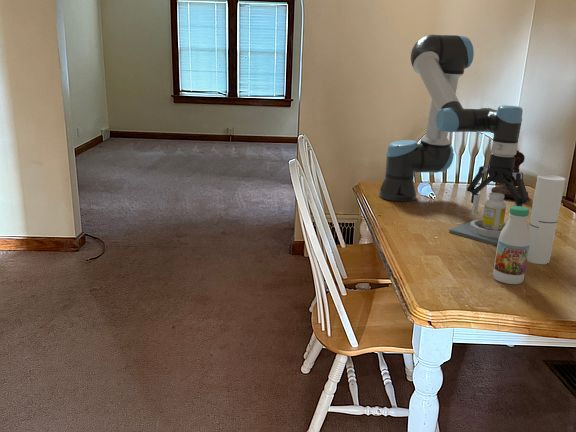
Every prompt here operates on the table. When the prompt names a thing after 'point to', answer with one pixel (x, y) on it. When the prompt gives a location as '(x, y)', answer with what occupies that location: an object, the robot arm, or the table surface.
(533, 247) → the cylindrical container
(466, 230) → the collar board
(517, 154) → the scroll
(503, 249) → the milk bottle
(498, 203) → the supplement bottle
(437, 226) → the table surface
